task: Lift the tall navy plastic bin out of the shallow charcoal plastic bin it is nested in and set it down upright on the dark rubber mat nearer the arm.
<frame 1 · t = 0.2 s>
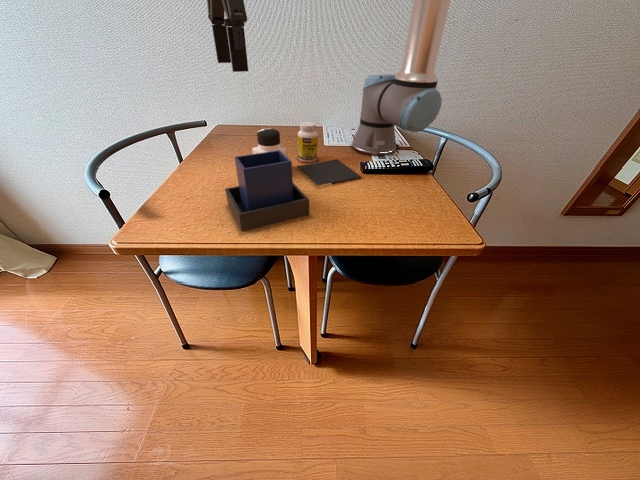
hand: (231, 66, 57), 28 cm above the table, tool pointing down, fingers open, 13 cm apart
pill bottle: (307, 159, 93), on the table
inner bin: (267, 209, 66), point 1 cm above the table, touching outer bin
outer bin: (267, 211, 67), on the table
mat: (328, 173, 84), on the table
medicine bottle: (271, 173, 84), on the table
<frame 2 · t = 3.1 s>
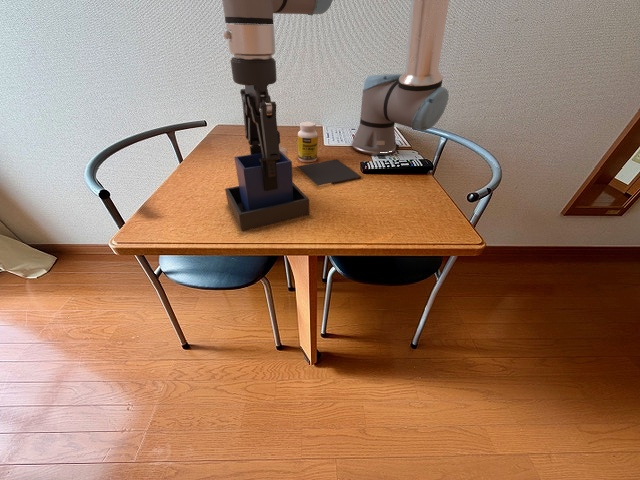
hand: (264, 181, 62), 8 cm above the table, tool pointing down, fingers closed on inner bin, 7 cm apart
inner bin: (267, 209, 66), point 1 cm above the table, touching gripper, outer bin
everything else where it was.
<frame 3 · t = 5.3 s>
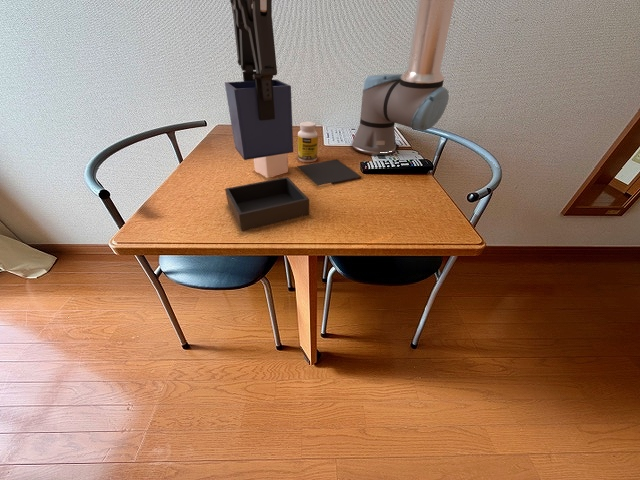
hand: (260, 113, 54), 21 cm above the table, tool pointing down, fingers closed on inner bin, 7 cm apart
inner bin: (264, 150, 58), point 14 cm above the table, touching gripper
everything else where it was.
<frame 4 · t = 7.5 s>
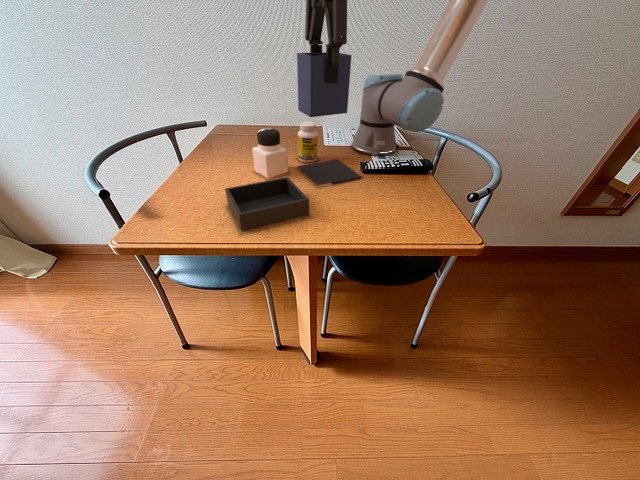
hand: (323, 79, 67), 25 cm above the table, tool pointing down, fingers closed on inner bin, 7 cm apart
inner bin: (322, 111, 71), point 18 cm above the table, touching gripper
everything else where it was.
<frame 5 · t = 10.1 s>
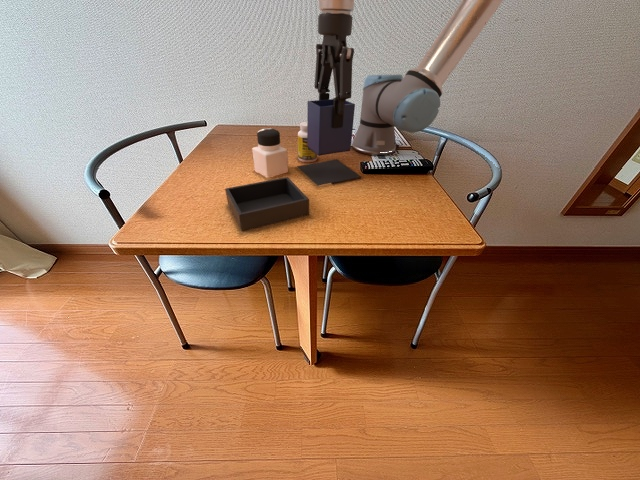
hand: (330, 123, 76), 14 cm above the table, tool pointing down, fingers closed on inner bin, 7 cm apart
inner bin: (328, 149, 80), point 7 cm above the table, touching gripper
everything else where it was.
when the fingers open (7 cm above the table, at t = 12.0 s): inner bin stays where it is, resting on mat.
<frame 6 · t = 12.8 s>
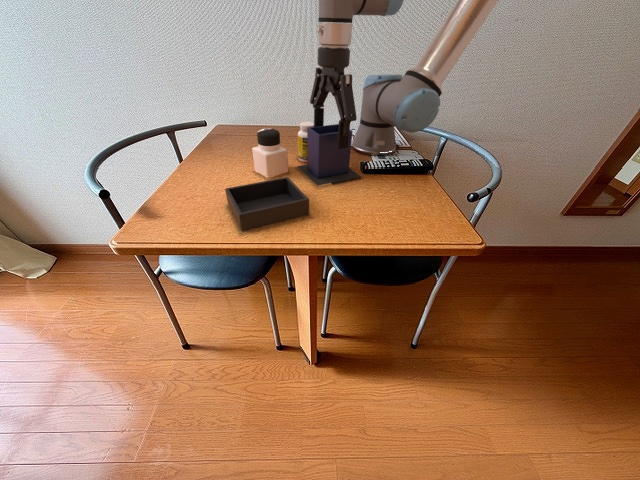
hand: (329, 139, 79), 10 cm above the table, tool pointing down, fingers open, 13 cm apart
inner bin: (327, 171, 84), point 1 cm above the table, touching mat
everything else where it was.
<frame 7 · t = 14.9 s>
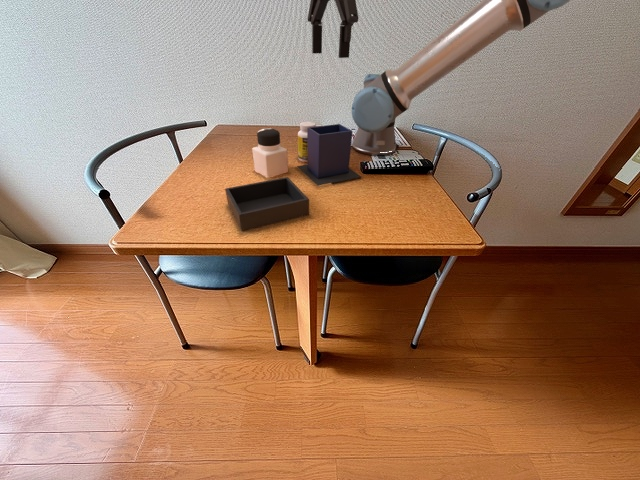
hand: (329, 55, 78), 28 cm above the table, tool pointing down, fingers open, 13 cm apart
nothing on the table moved.
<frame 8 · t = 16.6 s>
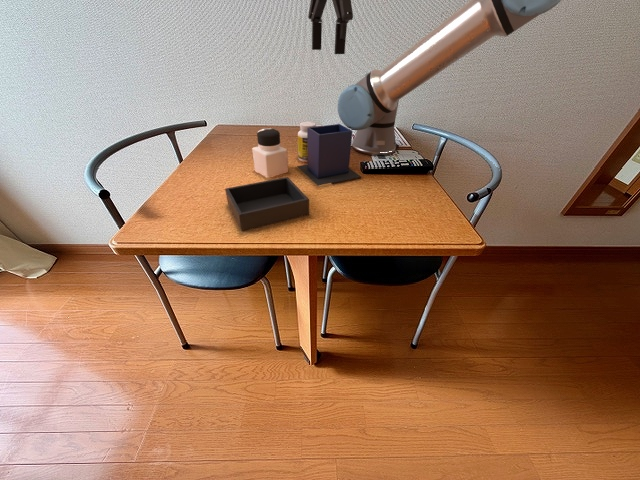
hand: (327, 51, 81), 29 cm above the table, tool pointing down, fingers open, 13 cm apart
nothing on the table moved.
at the end: inner bin inside the target area on the mat (0.1 cm from its centre), point 0.6 cm above the mat's base; inner bin tilted 0°; inner bin touching mat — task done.
